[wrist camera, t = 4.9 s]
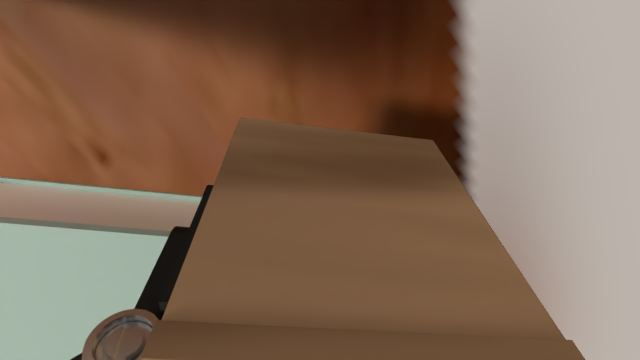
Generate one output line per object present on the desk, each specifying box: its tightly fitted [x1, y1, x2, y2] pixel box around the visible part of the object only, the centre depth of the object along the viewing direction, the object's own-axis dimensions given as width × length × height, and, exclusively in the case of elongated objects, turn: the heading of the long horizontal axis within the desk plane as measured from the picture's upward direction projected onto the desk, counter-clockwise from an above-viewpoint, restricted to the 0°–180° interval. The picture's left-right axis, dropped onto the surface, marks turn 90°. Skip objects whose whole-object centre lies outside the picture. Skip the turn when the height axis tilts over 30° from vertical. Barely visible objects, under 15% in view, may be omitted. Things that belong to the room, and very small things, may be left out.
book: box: [0, 177, 202, 360], centre depth 20 cm, size 12×16×4 cm
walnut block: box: [141, 118, 585, 360], centre depth 9 cm, size 6×6×7 cm
